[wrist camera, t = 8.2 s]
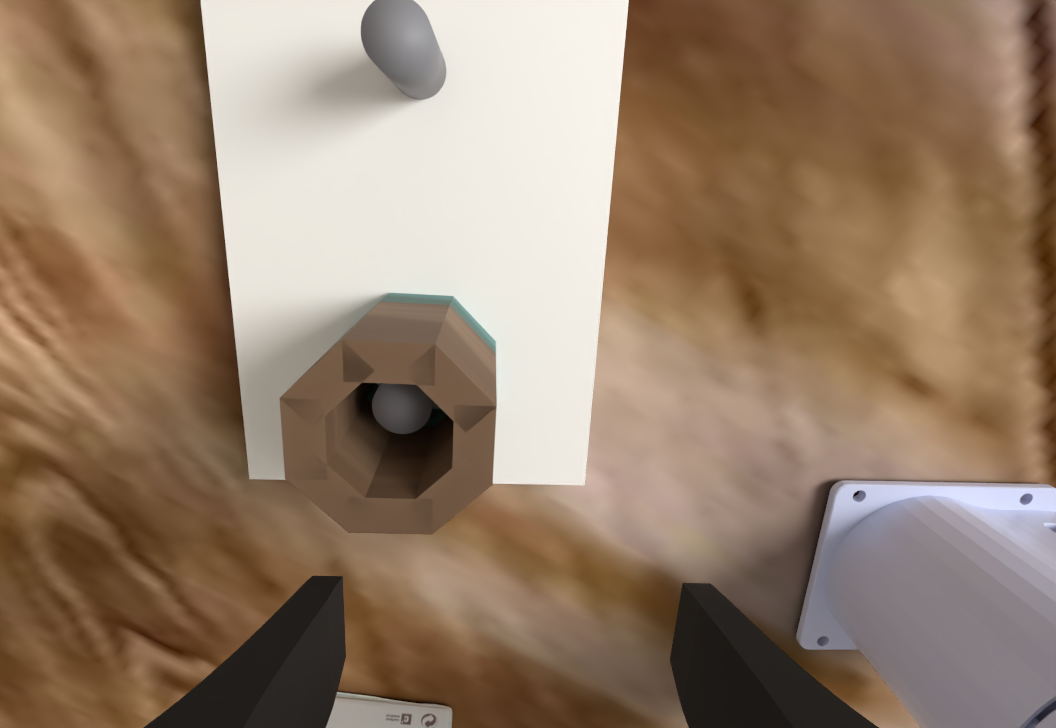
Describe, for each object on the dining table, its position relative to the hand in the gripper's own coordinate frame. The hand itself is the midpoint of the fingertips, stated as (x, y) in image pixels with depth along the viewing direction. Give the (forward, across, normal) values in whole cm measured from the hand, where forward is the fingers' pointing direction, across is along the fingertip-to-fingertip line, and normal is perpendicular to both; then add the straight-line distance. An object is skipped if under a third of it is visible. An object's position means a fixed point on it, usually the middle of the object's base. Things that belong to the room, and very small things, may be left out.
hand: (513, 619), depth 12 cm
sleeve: (+9, +3, -3) cm, 10 cm away
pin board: (+10, +3, -7) cm, 13 cm away
